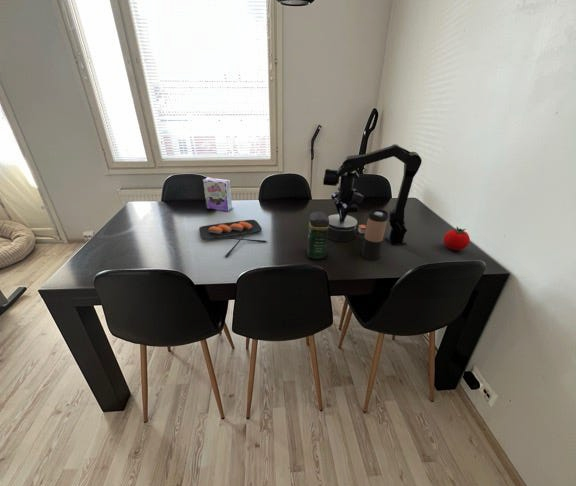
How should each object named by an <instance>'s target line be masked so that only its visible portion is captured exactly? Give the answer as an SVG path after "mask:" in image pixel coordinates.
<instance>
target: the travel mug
mask: <svg viewBox="0 0 576 486" xmlns="http://www.w3.org/2000/svg"><path fill="white" fill-rule="evenodd" d="M388 215H389V212H388V211H387V210H384V209H380V208H372V209H370V210H369V212H368V216H367V221H366V224H367V226H366V231H365V234H364V236H363V242H362V249H361V257H363V258H364V259H365V260H377V259H378V258H379V255H380V251H381V248H382V244H383V241H384V237H385V232H386V227H387V223H388V220H389V218H388Z"/></svg>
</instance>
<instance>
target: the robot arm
mask: <svg viewBox="0 0 576 486" xmlns="http://www.w3.org/2000/svg"><path fill="white" fill-rule="evenodd" d="M392 157H394V158H396V159H397V160H399V161H400V162H402V163H403V175H402V180H401V185H400V186H399V187H400V188H399V191H398V194H397V198H396V202H395V206H394V207H393V208H390V209H389V213H388V222H389V224H390V228H391V229H390V233H389V237H386V240H387V241H388V242H389V243H390V244H391V245H392V246H395V245H397V246H398V245H405V244H406V241H404V238H405V234H406V233H407V232H408V228H407V225H406V221H405V209H406V205H407V202H408V198H409V195H410V192H411V188H412V184H413V181H414V178H415V176H416V175H417V173H418V171H419V169H420V168H421V165H422V162H423V161H422V158H421V156H420V154H419V153H418V152H416V151H409V150H407V149H406V148H404V147H401V146H399V145H398V144H397V143H394V144H391V146H387V147H383V148H380V149H377V150H374V151H371V152H368V153H367V152H366V153H364V154H353V155H348V156H346V157H345V158H344V159H343V161H342V164H341V165H340V166H339V167H338V168H337V169H329V168H325V171H324V177H323V183H322V184H323V186H332V187H336V186H337V185H339V187H337V191H338V192H337V191H335V192H333V193H331V197H330V198H331V200H332V201H334V205H335V209H336V210H337V211H336V212H337V214H339V216H340V214H341V219H342V221H344V220H345V218H346V216H347V215H349V213H358V212H359V206H358V205H357V204H356V203H355V202H357V203H359V204H361V203H362V202H363V200H364V198H365V196H364V195H362V194H361V193H360V192H359V190H358V189H357V188H354V183H355V179H359V178H360V174H358V172H357V170H360V169H361V168H362V167H364V166H366V165H369V164H373V163H377V162H380V161H383V160H387V159H389V158H392Z"/></svg>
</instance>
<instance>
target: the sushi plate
mask: <svg viewBox="0 0 576 486" xmlns="http://www.w3.org/2000/svg"><path fill="white" fill-rule="evenodd" d="M262 230H263V229H262V227H261V225H260V223H259V222H258V221H257V220H256V219H243V220H237V221H230V222H222V223H215V224H207V225H202V226H199V228H198V231H199V236H200V237H201V239H202V240H215V239H226V240H227V239H228V240H238V241H237V242H236V243H235V244H234V245H233V246H232V248H231V249H230V250H229V251H228V252H227V253H226V254H225V258H228V257H229V255H230V254H231V253H232V252H233V251H234V249H235V248H236V247H237V246H238V244H239V243H240V242H241V241H249V242H260V243H267V240H263V239H249V238H244V237H245V236H246V235H249V234H257V233H260V232H262ZM237 236H242V237H240V238H238V237H237ZM235 237H237V238H235Z"/></svg>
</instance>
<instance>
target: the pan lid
mask: <svg viewBox="0 0 576 486" xmlns="http://www.w3.org/2000/svg"><path fill="white" fill-rule="evenodd" d="M327 216H328V217H329V225H331V226H334V227H338V228H351V227H354V226H356V227H357V225H358V220H357V219H356V218H355V217H354V216H351V215H349V214H347V216H346V218H345V220H344V221H342V219H341V214H340V216H339V214H338V213H337V214H330V215H327Z"/></svg>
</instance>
